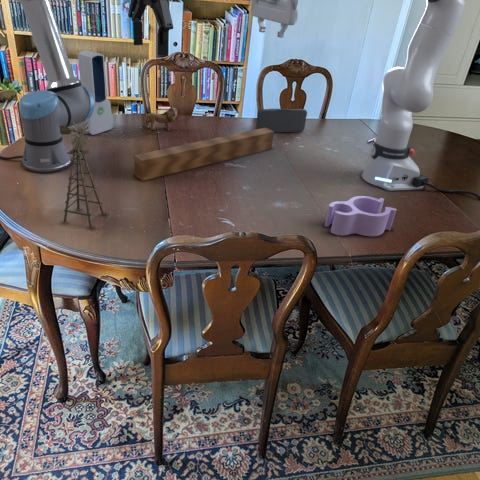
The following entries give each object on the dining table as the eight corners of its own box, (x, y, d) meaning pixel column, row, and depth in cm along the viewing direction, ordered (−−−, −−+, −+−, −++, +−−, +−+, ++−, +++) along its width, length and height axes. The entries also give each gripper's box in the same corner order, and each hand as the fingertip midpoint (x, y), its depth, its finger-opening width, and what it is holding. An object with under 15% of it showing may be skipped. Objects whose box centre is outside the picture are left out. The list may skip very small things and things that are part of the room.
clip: (337, 240, 135) (342, 219, 131) (318, 218, 145) (322, 198, 141) (395, 233, 141) (402, 213, 137) (373, 213, 151) (378, 194, 147)
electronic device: (90, 136, 184) (84, 56, 167) (77, 131, 187) (69, 52, 170) (113, 128, 193) (109, 52, 177) (100, 123, 196) (95, 48, 180)
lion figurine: (175, 126, 202) (175, 105, 197) (178, 130, 198) (178, 109, 193) (141, 127, 197) (140, 106, 192) (143, 131, 193) (143, 110, 188)
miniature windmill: (90, 229, 128) (80, 122, 112) (62, 223, 129) (47, 117, 113) (105, 213, 136) (97, 111, 119) (78, 208, 137) (67, 106, 120)
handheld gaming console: (301, 129, 213) (305, 108, 208) (304, 131, 211) (308, 110, 205) (254, 131, 206) (257, 108, 200) (257, 133, 204) (259, 110, 198)
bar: (142, 181, 155) (141, 160, 151) (134, 175, 158) (134, 155, 154) (271, 148, 191) (274, 131, 187) (263, 144, 194) (265, 127, 190)
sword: (405, 131, 224) (406, 128, 224) (410, 133, 222) (411, 130, 222) (362, 142, 208) (362, 140, 208) (367, 144, 206) (368, 142, 206)
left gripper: (187, -28, 121) (185, 58, 133) (137, -38, 136) (139, 40, 148) (162, -29, 117) (162, 60, 128) (114, -39, 132) (117, 41, 143)
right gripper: (304, -5, 154) (298, 40, 161) (262, -13, 166) (258, 29, 174) (291, -5, 150) (285, 41, 158) (249, -14, 162) (245, 29, 170)
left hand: (150, 49), depth 138 cm, fingers open, 13 cm apart
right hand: (270, 34), depth 166 cm, fingers open, 8 cm apart
